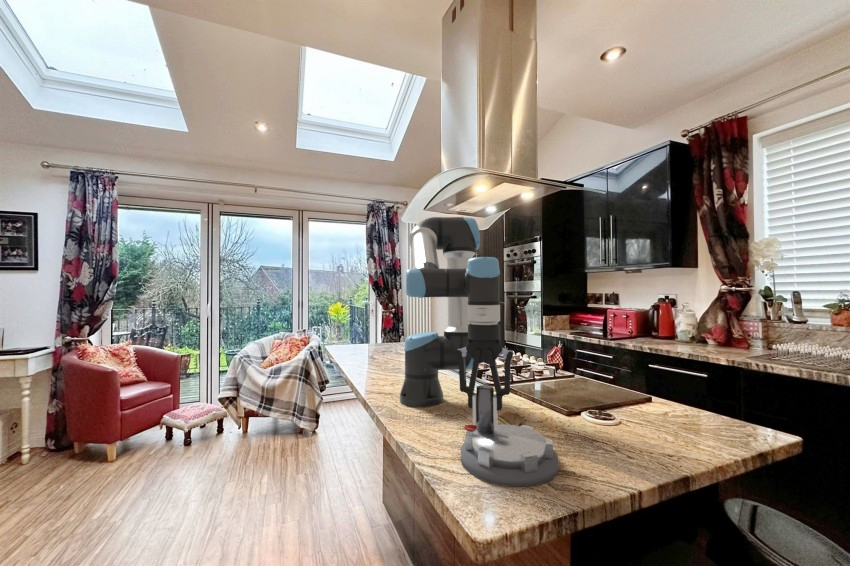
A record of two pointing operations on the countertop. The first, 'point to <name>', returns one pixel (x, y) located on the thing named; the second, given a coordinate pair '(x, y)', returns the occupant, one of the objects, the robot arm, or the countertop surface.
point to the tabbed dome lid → (505, 439)
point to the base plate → (510, 471)
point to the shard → (511, 418)
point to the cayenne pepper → (470, 427)
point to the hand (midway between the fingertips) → (485, 422)
